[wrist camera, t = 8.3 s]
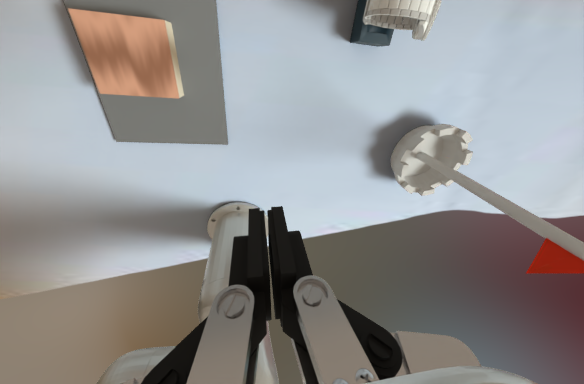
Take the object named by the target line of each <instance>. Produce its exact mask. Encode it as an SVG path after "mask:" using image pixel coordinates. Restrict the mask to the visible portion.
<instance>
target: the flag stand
mask: <svg viewBox="0 0 584 384" xmlns="http://www.w3.org/2000/svg"><path fill="white" fill-rule="evenodd" d="M471 141H472V138H471V136H470V134H469V133H468V132H467V131H464V130H461V129H459V128H457V127H454V126H451V125H447V124H438V125H434V126H430V125H426V126H421V127H417V128H415V129H413V130H411V131H410V132H408V133H407V134H406V135H405V136H403V137H402V138H401V140H400V141H399V142H398V143H397V145H396V146H395V148H394V150H393V152H392V155H391V168H392V170H393V172H394V175H395V178H396V181H397V182H398V183H399V184H400V185H401V186H402V187H403V188H404V189H405V190H406V191H407V192H409V193H411V194H412V193H413V192H418V193H419V194H420V195H422V196H423V195H430V194H433V193H434V188H436V187H438V186H439V185H441V184H443V185H445V186H446V187H447V186H449V185H450V184H451V183H453V182H456V183H457V184H459V185H460V186H462V187H464V188H465V189H467V190H469V191H470V192H472V193H473V194H475V195H477V196H478V197H480V198H481V199H483V200H485V201H486V202H488V203H489V204H491V205H493V206H494V207H496V208H497V209H499V210H501V211H502V212H504V213H505V214H507V215H509V216H510V217H512V218H514V219H515V220H517V221H518V222H520V223H521V224H523V225H525V226H526V227H528V228H529V229H531V230H533V231H535V232H536V233H537V234H539V235H541V236H543V237H544V238H545V241H544V243H543V245H542V246H541V248H540V250H539V252H538V253H537V255H536V257H535V259H534V261H533V262H532V264H531V266H530V267H529V269H528V271H527V273H584V243H583V242H582V241H580V240H578V239H576V238H575V237H573V236H571V235H569V234H567V233H566V232H564V231H562V230H560V229H559V228H557V227H555V226H553V225H552V224H550V223H548V222H546V221H544V220H543V219H541V218H539V217H537V216H536V215H534V214H532V213H530V212H529V211H527V210H525V209H523V208H521V207H520V206H518V205H516V204H514V203H513V202H511V201H509V200H507V199H505V198H504V197H502V196H500V195H498V194H497V193H495V192H493V191H491V190H490V189H488V188H486V187H484V186H482V185H481V184H479V183H477V182H475V181H474V180H472V179H470V178H468V177H466V176H465V175H463V174H461V173H459V172H458V171H457V170H458V169H459V167H460V166H461V164H462V165H468V164H469V162H470V160H471V157H472V154H473V152H472V151H469V150H467V148H468V143H469V142H471Z"/></svg>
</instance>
